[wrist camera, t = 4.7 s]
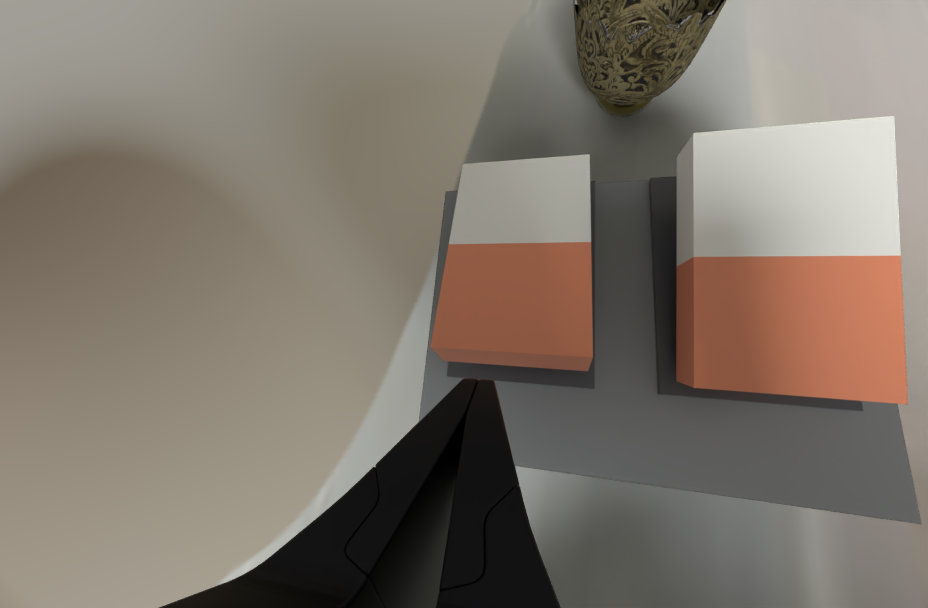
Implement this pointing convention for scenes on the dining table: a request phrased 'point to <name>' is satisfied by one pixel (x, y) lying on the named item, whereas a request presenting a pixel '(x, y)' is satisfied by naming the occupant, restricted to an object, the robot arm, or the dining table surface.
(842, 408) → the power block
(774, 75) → the dining table surface
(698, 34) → the cup
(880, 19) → the dining table surface
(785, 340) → the block
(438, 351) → the block
